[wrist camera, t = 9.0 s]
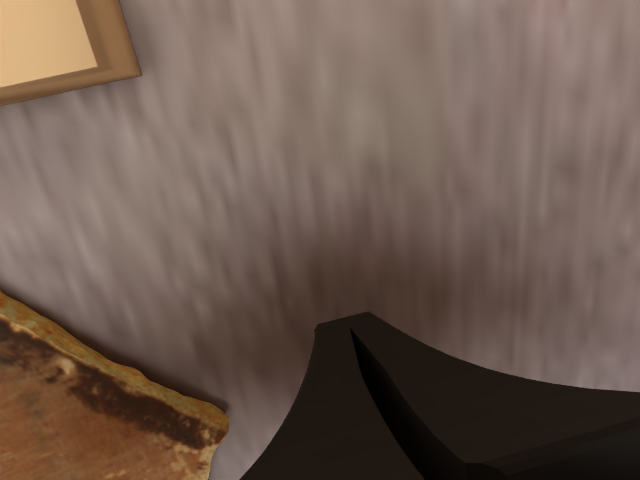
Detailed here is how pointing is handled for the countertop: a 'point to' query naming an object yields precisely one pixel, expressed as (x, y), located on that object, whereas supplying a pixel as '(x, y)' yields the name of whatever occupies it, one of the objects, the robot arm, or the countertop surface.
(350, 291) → the countertop surface
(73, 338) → the shard
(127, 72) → the oak ledge
